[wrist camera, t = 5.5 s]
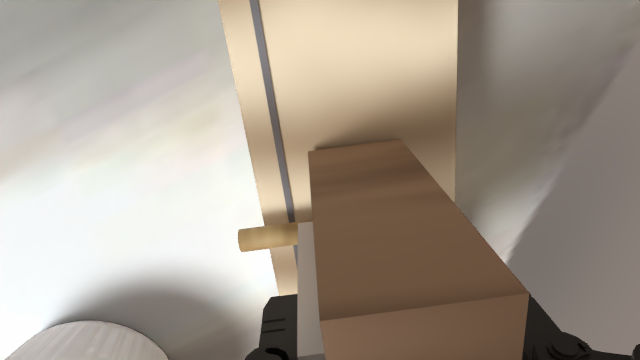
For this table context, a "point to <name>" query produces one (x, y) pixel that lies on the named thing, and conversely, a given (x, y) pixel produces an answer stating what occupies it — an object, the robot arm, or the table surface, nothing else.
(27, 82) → the table surface
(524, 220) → the table surface
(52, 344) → the ramekin
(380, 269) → the tan boxy wooden piece
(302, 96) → the board
